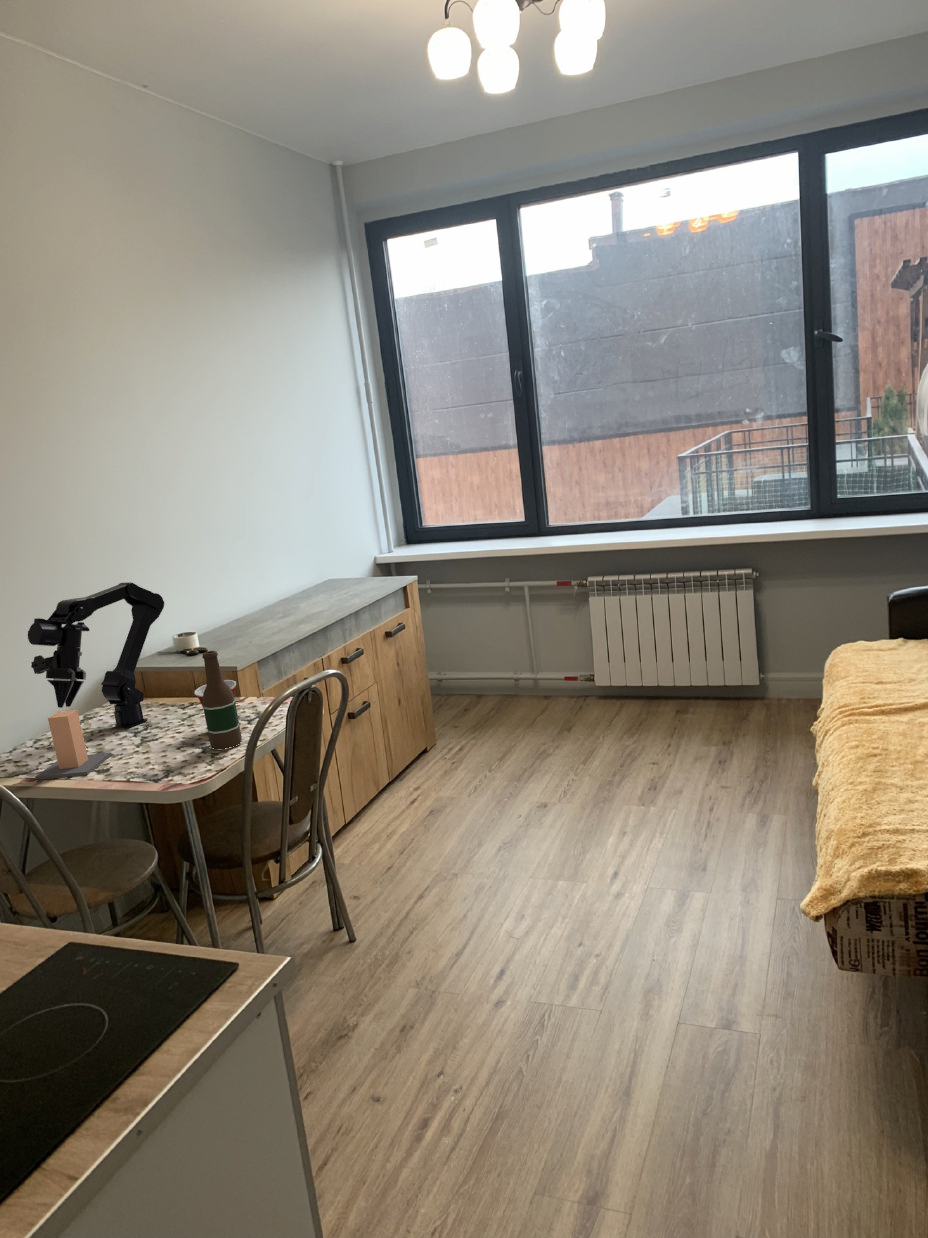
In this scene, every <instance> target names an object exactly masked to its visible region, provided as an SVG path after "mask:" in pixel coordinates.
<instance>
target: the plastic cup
mask: <svg viewBox="0 0 928 1238" xmlns="http://www.w3.org/2000/svg"><path fill="white" fill-rule="evenodd" d="M223 680H224V682H225V683H226V684H227V685H228V686H229V687H230V689H231V690H232V692H233V695H234V698H236V697H235V696H236V692H235V691H236V686H237V681H235V680H231V679H223ZM206 686H207V683H206V684H203V685H201V686H199V687H198V688H196V689H195V690H194V695H195V696H196V697H197V698H198V700H199V702H200V704H201V706H202V708H203V701H202V699H203V693H204V691H205V688H206Z"/></svg>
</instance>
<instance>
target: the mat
mask: <svg viewBox="0 0 928 1238" xmlns="http://www.w3.org/2000/svg"><path fill="white" fill-rule="evenodd" d="M87 756H88V760H87V761H86V762H85V763H83V764H82V765H81V766H79V767H74V768H64V769H59V765H58V761H57V760H56V761H55V762H53V763H52V764H51V765H49V766H47V767H46V768H45V769H44V770H43V771H41V772H39V774H36V776H34V777H35V780H37V779H39V780H49V779H57V778H58V779H59V778H69V777H81V776H88V775H89V774H91V773H92V772H93V771H94V770H96V769H97V768H98V767H99V766H101V765H102V764H103V763H104V762H105V761H106V760H108V759H109V758H111V756H112V752H104V753H92V754H91V753H90V754H87ZM37 781H38V780H37Z"/></svg>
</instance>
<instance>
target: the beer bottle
mask: <svg viewBox="0 0 928 1238" xmlns="http://www.w3.org/2000/svg"><path fill="white" fill-rule="evenodd" d="M218 656H219V654H218V652H217V651H216V650H209V651H205V652H203V654H202V657H201V658H202V659H203V661H204V662H203V663H204V670H205V679H206V684H207V686H206V688H205V691H204V693H203V699H202V701H203V707H202V710H203V714H204V719H205V723H206V729H207V734H208V740H209V744H210V747H211V749H212V748H214V749H225V748H229V747H233V746H236V745H238V744H240V745H241V743H242V741H243V739H242V731H241V725H240V721H239V720H240V719H239V715H238V709H237V703H236V699H235V698H236V697H235V698H234V695H233V692H232V690H231V689H230V687H229V686H228V685H227V684H226V683H225V682H224V680H225V679H224V678H223V675H222V670H221V667H220V663H219V659H218ZM240 742H241V743H240ZM236 747H237V746H236ZM214 749H213V750H214Z"/></svg>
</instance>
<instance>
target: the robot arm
mask: <svg viewBox="0 0 928 1238" xmlns="http://www.w3.org/2000/svg"><path fill="white" fill-rule="evenodd" d="M121 600H124V601H125V602H126V604H128V605H130V606H131V616H132V622H131V625H130V628H129V631H128V633H127V637H126V640H125V642H124V645H123V647H122V651H121V652H120V655H119V659H118V662H117V665H116V667H115V668H114V669H113V670H106V671H105V673H104V678H103V680H102V682H101V683H100V685H101V693H102V695H103V697H104V699H106V700H107V701H108V703H109V705H114V706H113V708H114V711H113V715H114V719H115V724H114V726H115V727H119V728H125V729H128V728H132V727H135V726H137V725H140V724H142V723H145V722H147V721H148V719H147V718H144V714H143V710H142V704H141V702H143V701H144V699H145V698H144V696H145V694H144V692H142V691H141V690H139V689H138V688H137V687H136V684H137V680H136V674H135V671H136V668H137V666H138V663H139V659H140V657H141V653H142V651H143V649H144V645H145V643H146V640H147V637H148V633H149V632H150V631H149V630H150V629H151V625H152V624H154V623H155V622H156V620H157V619H159V617H160V615H162V614H161V613H162V612H163V610H164V608H165V600H164V598H163V596H162V595H161V594H160V593H157V592H155V593H154V592H152V591H151V590H148V589H146V588H143V587H141V586H139V585H138V584H136V583H134V582H128V581H127V582H120V583H118V584H117V585H114V586H111V587H109V588H107V589H104V590H100V591H98V592H96V593H93V594H90V595H87V596H83V597H76V598H69V599H63V600H60V601H59V602H58V603H56V604H57V605H56V608H55V610H54V611H53V612H52V614H51V615H50V616H49V617H48V619H45V618H40V617H39V618H34V620H33V623H32V624H31V625H30V627H29V629H28V631H27V640H28V642H29V643H30V644H31V645H33V646H48V647H55V646H56V650H54V651H53V654H52V656H49V657H48V656H47V657H44V656H43V655H41V654H40V655H36V656H34V657H33V661H31V665H30V667H31V669H33V673H34V675H36V674H37V675H39V674H40V675H41V674H44V673H45V679H47V680H46V681H47V682H48V683H49V684H51V686H53V689H54V694H55V699H56V704H57V705H56V706H57V708H59V709H60V708H64V705H65V707H67V708H69V707H71V706H72V704H73V702H74V701H75V699H76V697H77V695H78V693H79V691H80V689H81V687H82V686H83V684H84V683H85V681H84V680H87V679H86V676H87V672H86V671H85V670H84V669H82V668H81V667H80V662H81V661H80V660H81V657H82V655H83V652H82V651H81V648H82V636H83V635H82V634H83V632H90V628H89V627H88V626H87V625H86V624H85V622H84V620H86V619H88V618H89V617H91V616H92V615H93V614H94V612H96V611H97V610H99V609H102V608H104V607H107V606H109V605H112V604H115V603H117V602H120V601H121ZM76 622H77V623H76ZM74 623H75V624H74ZM63 625H64V626H63Z"/></svg>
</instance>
